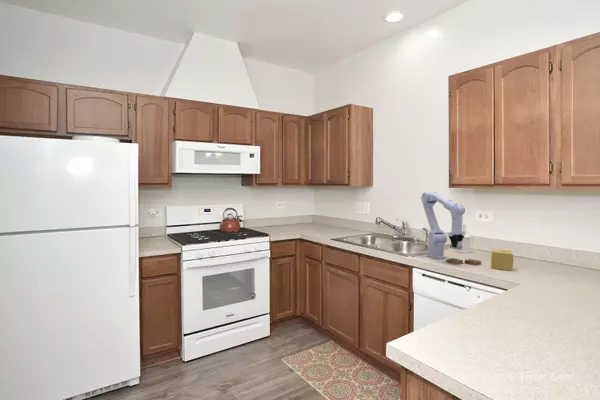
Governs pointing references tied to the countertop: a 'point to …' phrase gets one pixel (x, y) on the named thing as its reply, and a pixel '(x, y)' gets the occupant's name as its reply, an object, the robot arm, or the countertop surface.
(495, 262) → the cheese
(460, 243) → the block
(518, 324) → the countertop surface
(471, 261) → the stand
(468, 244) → the white bottle
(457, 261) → the stand
